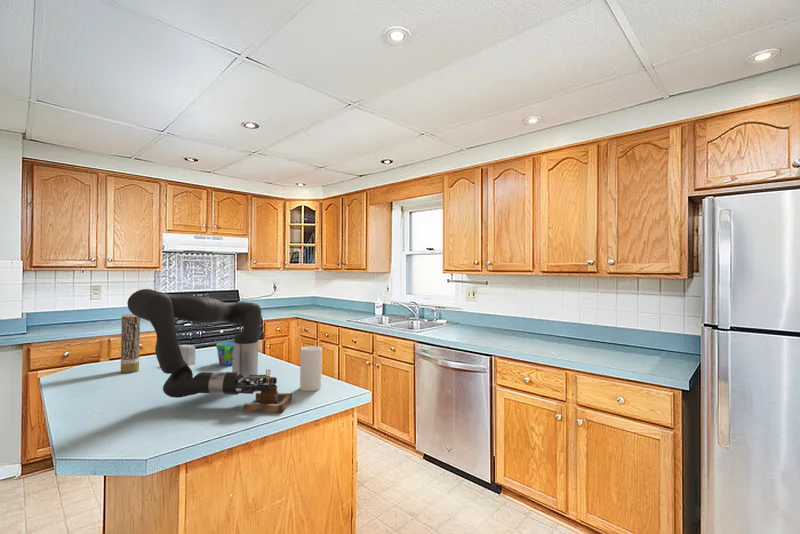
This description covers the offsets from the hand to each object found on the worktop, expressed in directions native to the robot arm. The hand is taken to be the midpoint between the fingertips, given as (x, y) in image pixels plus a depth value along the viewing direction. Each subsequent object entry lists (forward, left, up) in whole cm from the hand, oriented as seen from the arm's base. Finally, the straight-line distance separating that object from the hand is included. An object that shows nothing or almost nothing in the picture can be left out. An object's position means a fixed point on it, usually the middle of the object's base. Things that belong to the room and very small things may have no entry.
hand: (272, 384), depth 141 cm
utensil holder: (-1, -1, -8) cm, 8 cm away
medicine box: (-79, +11, -8) cm, 80 cm away
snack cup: (-63, +23, -8) cm, 68 cm away
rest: (-1, -1, -8) cm, 8 cm away
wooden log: (-84, -11, -8) cm, 85 cm away
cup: (-5, +22, -8) cm, 24 cm away
